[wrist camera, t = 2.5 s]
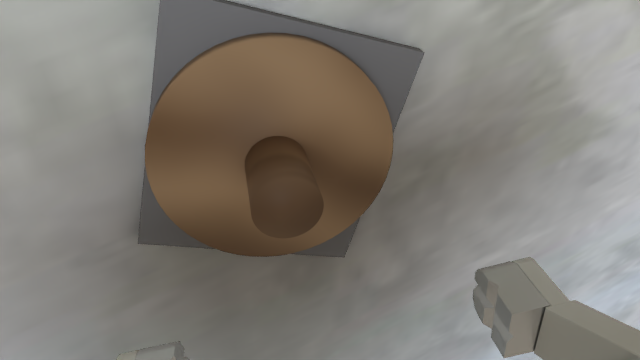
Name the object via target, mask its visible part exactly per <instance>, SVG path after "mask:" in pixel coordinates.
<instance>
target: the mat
mask: <svg viewBox="0 0 640 360" xmlns="http://www.w3.org/2000/svg"><path fill="white" fill-rule="evenodd" d="M259 33H289V34H295V35H301V36H305V37H308V38H311V39H315V40H318V41H321V42H323V43H325V44H327V45H329V46H331V47H333V48H335V49H337V50H338V51H340V52H341V53H343V54H344V55H346V56H347V57H348V58H350V59H351V60H352V61H353V62H354V63H355V64H356V65H357V66H358V67H359V68H360V69H361V70H362V71H363V72H364V73H365V74H366V75H367V77H368V78H369V79H370V80H371V82H372V83H373V84H374V85H375V86H376V88H377V90H378V91H379V93H380V95H381V96H382V98H383V100H384V102H385V105H386V107H387V110H388V112H389V116H390V120H391V124H392V132H394V129H395V127H396V124H397V122H398V119H399V116H400V114H401V111H402V109H403V106H404V104H405V101H406V99H407V96H408V93H409V91H410V88H411V86H412V83H413V81H414V78H415V76H416V73H417V70H418V68H419V65H420V63H421V60H422V58H423V55H424V52H423V51H422V50H420V49H418V48H414V47H410V46H406V45H402V44H398V43H394V42H390V41H386V40H382V39H378V38H374V37H370V36H366V35H362V34H358V33H354V32H350V31H346V30H342V29H338V28H334V27H330V26H326V25H322V24H317V23H313V22H309V21H305V20H301V19H297V18H293V17H289V16H285V15H281V14H277V13H273V12H269V11H265V10H261V9H257V8H253V7H249V6H245V5H241V4H237V3H233V2H229V1H225V0H160V6H159V17H158V28H157V39H156V50H155V61H154V72H153V83H152V94H151V105H150V116H149V124H150V120H151V117H152V114H153V111H154V108H155V105H156V103H157V101H158V99H159V98H160V96H161V94H162V92H163V90H164V89H165V87H166V86H167V85H168V83H169V82H170V81H171V79H172V78H173V77H174V76H175V75H176V74H177V73H178V72H179V71H180V70H181V69H182V68H183V67H184V66H185V65H186V64H187V63H188V62H190V61H191V60H192V59H194V58H195V57H196V56H198V55H199V54H201V53H202V52H204V51H206V50H208V49H210V48H211V47H213V46H215V45H217V44H220V43H223V42H225V41H228V40H230V39H233V38H237V37H241V36H245V35H250V34H259ZM148 128H149V127H148ZM359 219H360V217H359V218H358V219H357V220H356V221H355V222H354V223H353V224H351V225H350V226H349V227H348V228H346V229H345V230H344V231H342V232H341V233H339V234H338V235H336V236H335V237H333V238H331V239H329V240H327V241H325V242H323V243H321V244H319V245H317V246H314V247H311V248H309V249H306V250H302V251H299V252H295V253H291V254H300V255H315V256H330V257H345V254H346V252H347V249H348V247H349V244H350V242H351V239H352V237H353V234H354V231H355V229H356V226H357V224H358V221H359ZM138 244H151V245H166V246H181V247H196V248H211V249H215V248H212V247H210V246H208V245H206V244H204V243H201V242H199V241H198V240H196V239H194V238H193V237H191V236H190V235H188V234H186V233H185V232H184V231H183V230H182V229H180V228H179V227H178V226H177V225H176V224H175V223H174V222H173V221H172V220H171V219H170V218H169V217H168V216H167V215H166V213H165V212H164V211H163V209H162V208H161V206H160V205H159V203H158V202H157V200H156V198H155V196H154V194H153V192H152V190H151V186H150V183H149V180H148V177H147V172H146V165H145V171H144V182H143V193H142V204H141V215H140V227H139V238H138Z"/></svg>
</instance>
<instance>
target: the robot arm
mask: <svg viewBox="0 0 640 360" xmlns="http://www.w3.org/2000/svg"><path fill="white" fill-rule="evenodd" d="M475 281H476V282H477V284H478V285H477V286H476V288H475V289H474V290H473V302H474V306H475V309H476V312H477V314H478V316H479V318H480V320H481V321H482V323H483V324H485V325H486V326H488V327H490V328H492V333H491V338H492V340H493V341H494V343H495V345H496V346H497V348H498V349H499V351H500V353H501V354H502V356H503V358H507V357H511V356H515V355H520V354H524V353H529V352H533V351H534V353H535V354H536V355H538V356H539V357H541V358H542V359H543V360H640V331H639V330H637V329H635V328H633V327H631V326H629V325H626V324H624V323H622V322H620V321H618V320H616V319H614V318H612V317H610V316H608V315H605V314H603V313H601V312H599V311H597V310H595V309H593V308H591V307H589V306H587V305H584V304H582V303H580V302H578V301H576V300H573V301H569V299H568V298H567V297H566V296H565V295H564V294H563V293H562V291H561V290H560V289H559V288H558V287H557V286H556V284H555V283H554V282H553V281H552V280H551V279H550V277H549V276H548V275H547V274H546V273H545V272H544V270H543V269H542V268H541V267H540V266H539V265H538V264H537V262H536V261H535V260H534V259H532V258H531V257H527V258H523V259H519V260H515V261H509V262H505V263H501V264H497V265H493V266H489V267H485V268H481V269H478V270H477V271H476V272H475ZM116 360H190V359H189V358H187V357H184V347H183V346H182V344H181V342H180V341H178V342H173V343H168V344H163V345H159V346H154V347H149V348H144V349H140V350H135V351H131V352H127V353H122V354H119V356H118V357H117V359H116Z"/></svg>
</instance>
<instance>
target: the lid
mask: <svg viewBox="0 0 640 360" xmlns="http://www.w3.org/2000/svg"><path fill="white" fill-rule="evenodd" d="M392 153H393V132H392V124H391V120H390V116H389V112H388V110H387V107H386V105H385V102H384V100H383V98H382V96H381V95H380V93H379V91H378V90H377V88H376V86H375V85H374V84H373V83H372V82H371V80H370V79H369V78H368V77H367V75H366V74H365V73H364V72H363V71H362V70H361V69H360V68H359V67H358V66H357V65H356V64H355V63H354V62H353V61H352V60H351V59H350V58H348V57H347V56H346V55H344V54H343V53H341V52H340V51H338V50H337V49H335V48H333V47H331V46H329V45H327V44H325V43H323V42H321V41H318V40H315V39H311V38H308V37H305V36H301V35H295V34H289V33H259V34H250V35H245V36H241V37H237V38H233V39H230V40H228V41H225V42H223V43H220V44H217V45H215V46H213V47H211V48H210V49H208V50H206V51H204V52H202V53H201V54H199V55H198V56H196V57H195V58H194V59H192V60H191V61H190V62H188V63H187V64H186V65H185V66H184V67H183V68H182V69H181V70H180V71H179V72H178V73H177V74H176V75H175V76H174V77H173V78H172V79H171V81H170V82H169V83H168V85H167V86H166V87H165V89H164V90H163V92H162V94H161V96H160V98H159V99H158V101H157V103H156V105H155V108H154V111H153V114H152V117H151V120H150V124H149V128H148V132H147V138H146V143H145V165H146V172H147V177H148V180H149V183H150V186H151V190H152V192H153V194H154V196H155V198H156V200H157V202H158V203H159V205H160V206H161V208H162V209H163V211H164V212H165V213H166V215H167V216H168V217H169V218H170V219H171V220H172V221H173V222H174V223H175V224H176V225H177V226H178V227H179V228H180V229H182V230H183V231H184V232H185V233H186V234H188V235H190V236H191V237H193V238H194V239H196V240H198V241H199V242H201V243H204V244H206V245H208V246H210V247H212V248H215V249H218V250H221V251H224V252H228V253H233V254H237V255H245V256H260V257H267V256H279V255H285V254H291V253H295V252H299V251H302V250H306V249H309V248H311V247H314V246H317V245H319V244H321V243H323V242H325V241H327V240H329V239H331V238H333V237H335V236H336V235H338V234H339V233H341V232H342V231H344V230H345V229H346V228H348V227H349V226H350V225H351V224H353V223H354V222H355V221H356V220H357V219H358V218H359V217H360V216H361V215H362V214H363V213H364V212H365V211H366V210H367V209H368V207H369V206H370V205H371V204H372V202H373V201H374V199H375V198H376V196H377V195H378V193H379V192H380V190H381V188H382V186H383V183H384V181H385V179H386V177H387V174H388V171H389V168H390V163H391V158H392Z"/></svg>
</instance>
